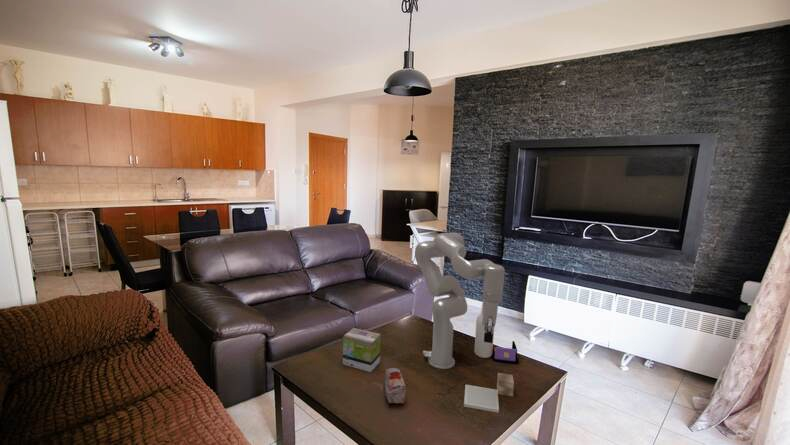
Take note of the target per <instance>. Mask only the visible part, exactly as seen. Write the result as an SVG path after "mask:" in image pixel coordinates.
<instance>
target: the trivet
mask: <svg viewBox="0 0 790 445" xmlns="http://www.w3.org/2000/svg"><path fill="white" fill-rule="evenodd" d="M464 386H465V388H464V399H463V407H466V408H470V409H476V410H481V411H487V412H492V413H497V414H499V413H500V406H499V405H500V404H499V394H498V391H497V389H494V388H488V387H483V386H482V387H481V386H477V385H476V386H475V385H471V384H465V385H464Z"/></svg>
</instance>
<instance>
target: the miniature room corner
mask: <svg viewBox="0 0 790 445" xmlns="http://www.w3.org/2000/svg"><path fill="white" fill-rule="evenodd" d="M517 355H518V349H517V345H516V343H515V340H513V341H512V345H511V348H509V347H501V346H495V348H493V351H492V355H491V356H492V360H493V362H496V363H497V362H498V363H506V364H515V365H518V364H519V360H518V356H517Z"/></svg>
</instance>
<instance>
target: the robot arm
mask: <svg viewBox="0 0 790 445" xmlns="http://www.w3.org/2000/svg"><path fill="white" fill-rule="evenodd" d="M464 242H465V241H464V237H463V236H462V235H461V234H460V233H459V232H441V233H439V234H437V235H436V236H435V237H434V238H433V240H425V241H422V242H419V243H418V244H416V246H415V249H414V259H415V261H416V263H417V265H418V267H419V269H420V270H421V273H422V275H423V279H424V281H425V282H424V283H425V285H426V288H427V290H428V292H429V294H430V296H432V297H435V298H438V299H436V300H434V301H433V302H432V305H431V312H432V319H433V320H432V323H433V324H432V345H431V346H432V348H431V350H422V355H424V358H427V359H428V364H429V365H430V366H432V367H434V368H436V369H441V370H446V369H447V370H448V369H451V368H453V367H454V366H455V364H456V360H455V358H454V357H453V342H454V325H453V322H451V319H452V318H456V317H461V316H464V315H465V314H467V311H468V302H467V299H466V297H465V294H464V292H463V289H462V286H461V284H460V282H459V280H458V278H457V277H455V276H454V275H453V274H452V275H450V274H447V275H446V274H445V275H442V274H443V273H441V269H440V267H439V266H438V264H437V263H436V262H434V261H433V260H432V259H434V258H443V257H447V258H448V259H450V264H451V267H452V270H453V271H454V272H455V273H457V275H459V276H460V277H462V278H464V279H465V280H469V281H470V280H478V279H483V283H482V284H483V285H482V296H481V299H482V301H483V300H484V308H483V319H482V325H483V326H484V325H485V329H484V330H485V334H484V342H488V343H492V341H493V342H494V338H493V327H494V328H495V327H496V323H497V322H496V321H497V317H498V310H499V304H500V303H501V302H502V301H503V294H504V293H503V291H504V283H505V273H506V270H505V267H504V266H503V265H500V264H496V263H494V262H493V261H492V260H489V259H487V258H486V259H485V258H483V259H475V260H474V259H473V260H467V259H466V258H465V257H466V255H467V248H466V246H465V245H464ZM444 296H446V297H444ZM439 297H441V298H439Z"/></svg>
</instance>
